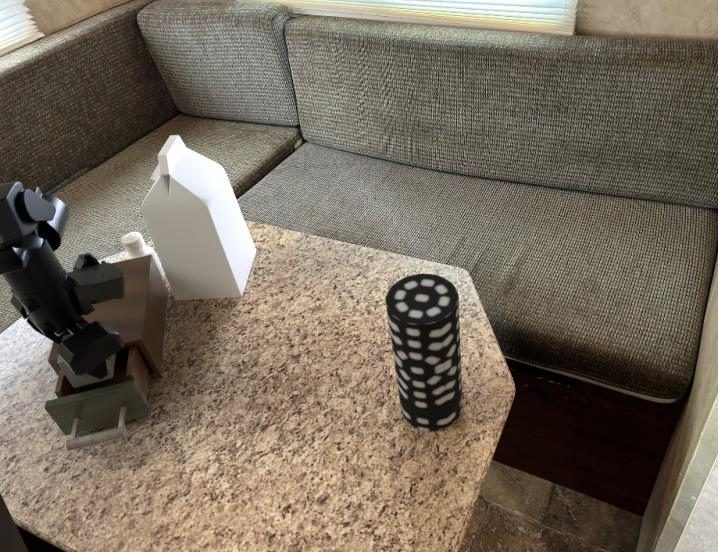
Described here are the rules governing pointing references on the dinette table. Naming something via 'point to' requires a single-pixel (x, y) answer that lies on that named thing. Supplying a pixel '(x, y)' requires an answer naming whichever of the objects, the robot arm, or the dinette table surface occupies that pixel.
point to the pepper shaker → (138, 248)
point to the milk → (197, 225)
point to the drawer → (102, 401)
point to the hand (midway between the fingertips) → (92, 364)
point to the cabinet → (135, 312)
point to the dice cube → (85, 378)
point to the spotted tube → (426, 349)
